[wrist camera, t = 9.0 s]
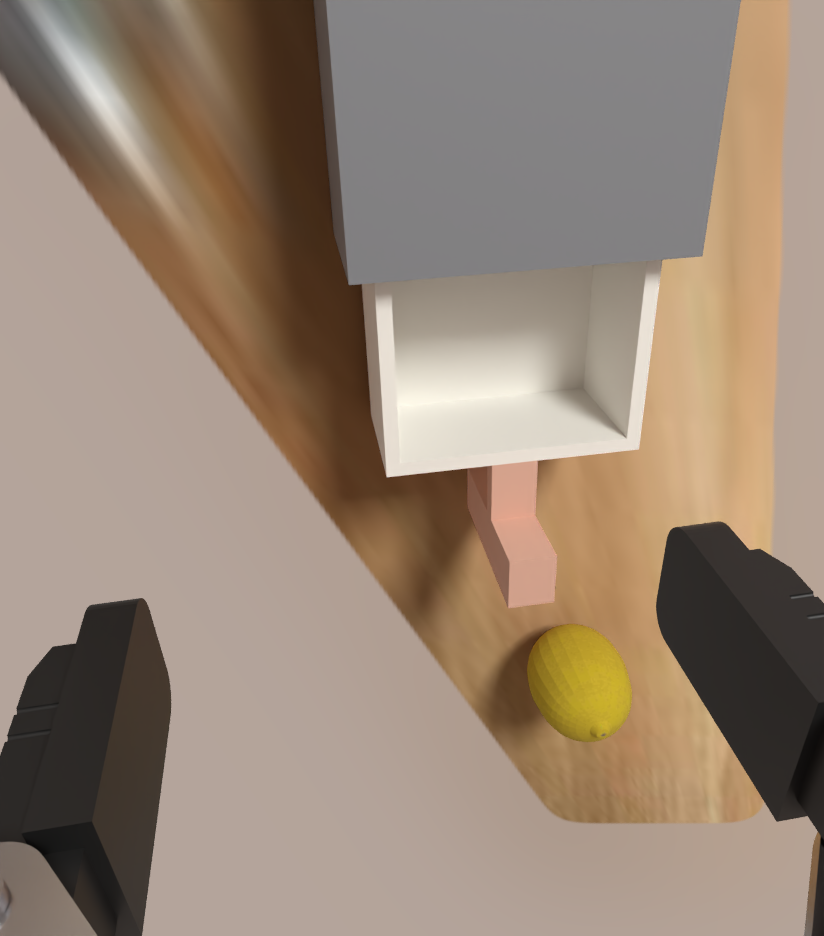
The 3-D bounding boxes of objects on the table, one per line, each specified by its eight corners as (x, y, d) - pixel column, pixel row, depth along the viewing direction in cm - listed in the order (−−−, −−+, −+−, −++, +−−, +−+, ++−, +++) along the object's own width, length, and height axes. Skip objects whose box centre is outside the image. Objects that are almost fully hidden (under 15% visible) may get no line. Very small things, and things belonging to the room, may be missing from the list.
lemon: (518, 675, 49) (558, 781, 42) (506, 610, 46) (547, 713, 39) (602, 653, 49) (655, 755, 42) (595, 587, 46) (651, 684, 39)
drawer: (338, -50, 28) (362, -82, 20) (628, -59, 29) (758, -93, 21) (377, 506, 40) (402, 622, 32) (582, 482, 41) (654, 588, 33)
